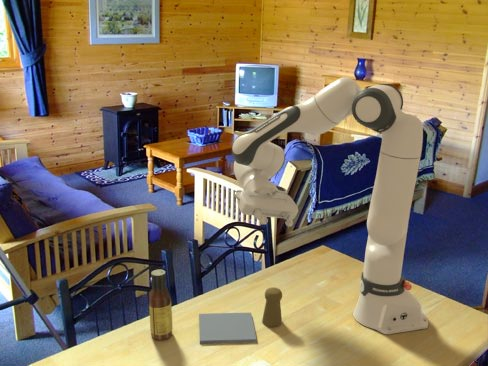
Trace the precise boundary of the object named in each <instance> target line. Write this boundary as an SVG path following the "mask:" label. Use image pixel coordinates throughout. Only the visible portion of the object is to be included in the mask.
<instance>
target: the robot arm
mask: <svg viewBox="0 0 488 366" xmlns="http://www.w3.org/2000/svg"><path fill="white" fill-rule="evenodd" d="M403 106H404V97H403V95H402V93H401V91H400V89H398V88H397V87H396V86H394V85H391V84H388V83H387V84H385V83H380V84H374V85H368V86H365V88H363V87H362V86H360V85H359V83H357V81H355V80H354V79H352V78H351V77H348V76H342V77H340V78H338V79H335V80H334V81H332V82H331V83H328V84H327V85H326V86H325V87H324V86H323V88H322V89H320V90H319V91H318V92H316V94H314V95H313V96H312V97H309V98H308V99H307V100H305V101H302V102H300V103H297V104H295V105H291V106H287V107H285V108H284V109H281V110H280V111H278V112H277V113H275V114H274V115H272V116H271V117H269V118H268V119H266V120H264V121H263V122H261V123H260V124H259V125H257V126H255V127H254V128H252V129H250V130H248V131H247V130H246V131H245V132H242V133H240V134H239V135H238V136H236V138H235V139H234V140H233V142H232V145H231V154H232V157H233V159H234V163H233V174H234V176H235V178H236V181H237V183H238V184H239V186H240V187H241V188H242V189H243V190H241V189H238V190H236V191H234V194H233V195H234V197H235V199H236V203H237V205H238V209H239V211H240V213H242V214H243V215H245V216H253V217H254V218H255V219H256V220H257V221H259V223H260V224H261V225H267V224H268V222H269V219H268V218H277V219H284V220H285V222H284V223H285V225H286V227H292V226H293V224H294V221H293V220H294V219H295V218H296V216H297V214H299V208H298V206H297V204H296V202H295V201H294V200H293V198H292V197H291V196H290V195H289V194H288V190H287V189H286V188H285V187H282V186H280V185H277V184H276V183H273V182H272V181H270V180H272V178H274V176H276V175H277V174H278V173H279V172H280V171H281V170H282V169H283V167H284V165H285V161H286V154H285V151H284V149H283V148H282V147H281V146H279V145H277V144H275V143H274V142H271V141H273V140H275V139H277V138H278V137H280V136H281V135H283V134H286V133H303V134H304V133H305V134H310V135H322V134H325V133H327V132H330V131H331V130H333V129H334V128H335V127H337V126H338V125H339V124H341V122H343V121H344V120H345V119H347V118H349V117H350V116H351V115H352V117H353V118H354V120H355V122H357V123H359V124H360V125H361V126H363V127H366V128H367V129H370V130H372V131H374V132H375V133H378V134H381V136H382V137H381V145H380V150H379V156H378V162H377V169H376V175H375V179H374V183H373V184H374V185H373V188H372V194H371V199H370V203H369V209H368V212H367V213H368V214H367V220H366V228H367V233H368V236H367V241H366V247H365V254H364V261H363V262H364V263H363V270H362V272H361V277H360V282H359V296H358V300H357V303H356V306H355V308H354V310H353V312H352V314H353V317H354V319H355V320H356V321H357V322H358V323H360V324H361V325H363V326H365V327H367V328H369V329H373V330H376V331H378V332H379V333H381V334H384V335H392V334H398V333H400V334H401V333H405V332H411V331H417V330H424V329H425V330H426V329H427V328H429V318H428V317H427V315H426V313H425V312H424V311H423V310H422V306H421V303H420V301H419V300H418V298H417V297H416V295H414V294H413V293H412V292H411V291H410V290H411V289H412V287H413V286H412V284H411V283H410V282H409V281H407V280H406V278H405V277H404V276H402V269H403V263H404V254H405V248H406V241H407V237H408V236H407V233H408V228H409V220H410V214H411V208H412V202H413V198H414V193H415V187H416V181H417V178H418V173H419V168H420V167H419V166H420V162H421V158H422V151H423V143H424V141H423V140H424V126H423V122H422V121H421V119H420V118H418V117H417V116H415V115H414V114H411V113H406V112H404V111H403Z"/></svg>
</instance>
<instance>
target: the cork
mask: <svg viewBox="0 0 488 366" xmlns="http://www.w3.org/2000/svg"><path fill="white" fill-rule="evenodd" d="M264 298H265V305H264V309H263V316H262V320H261V323H262V325H264V326H265V327H267V328H273V329H274V328H275V329H276V328H278V327H280V326H282V324H283V319H282V318H283V317H282V308H281V300H282V298H283V292H282V290H281V289H280V288H278V287H275V286H274V287H268V288H266V290H265V292H264Z"/></svg>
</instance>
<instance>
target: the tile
mask: <svg viewBox="0 0 488 366" xmlns="http://www.w3.org/2000/svg"><path fill="white" fill-rule="evenodd" d="M198 329H199V332H198V333H199V345H201V344H202V345H205V344H206V345H207V344H233V343H235V344H237V343H238V344H239V343H257V335H256V331H255V325H254V320H253V315H252V312H216V313H212V312H211V313H199V314H198Z"/></svg>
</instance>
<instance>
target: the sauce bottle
mask: <svg viewBox="0 0 488 366" xmlns="http://www.w3.org/2000/svg"><path fill="white" fill-rule="evenodd" d="M166 273H167V272H166V271H165V270H164V269H155V270H152V271H151V273H150V276H151V280H152V281H151V283H152V285H151V286H152V287H151V290H150V291H149V294H148V311H149V324H150V325H149V328H150V335H151V337H152V338H153V339H155V340H158V341H163V340H167V339H169V338H171V336H172V335H173V311H172V296H171V294H170V291H169V289H168V286H167V283H166V277H167V274H166Z"/></svg>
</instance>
